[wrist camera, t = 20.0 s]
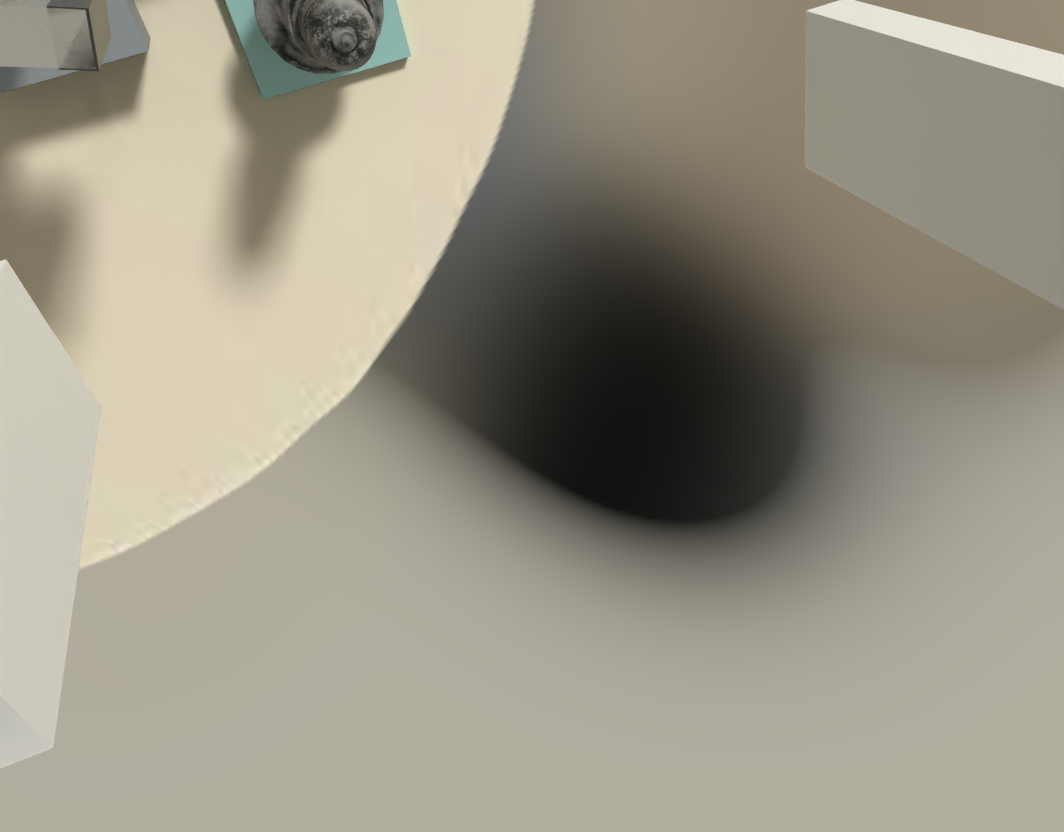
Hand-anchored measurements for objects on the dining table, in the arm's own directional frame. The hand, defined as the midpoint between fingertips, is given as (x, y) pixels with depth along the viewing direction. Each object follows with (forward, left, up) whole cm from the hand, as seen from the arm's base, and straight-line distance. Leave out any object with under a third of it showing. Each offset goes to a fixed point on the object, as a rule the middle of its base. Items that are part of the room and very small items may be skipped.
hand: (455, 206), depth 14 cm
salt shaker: (+2, +1, -34) cm, 34 cm away
